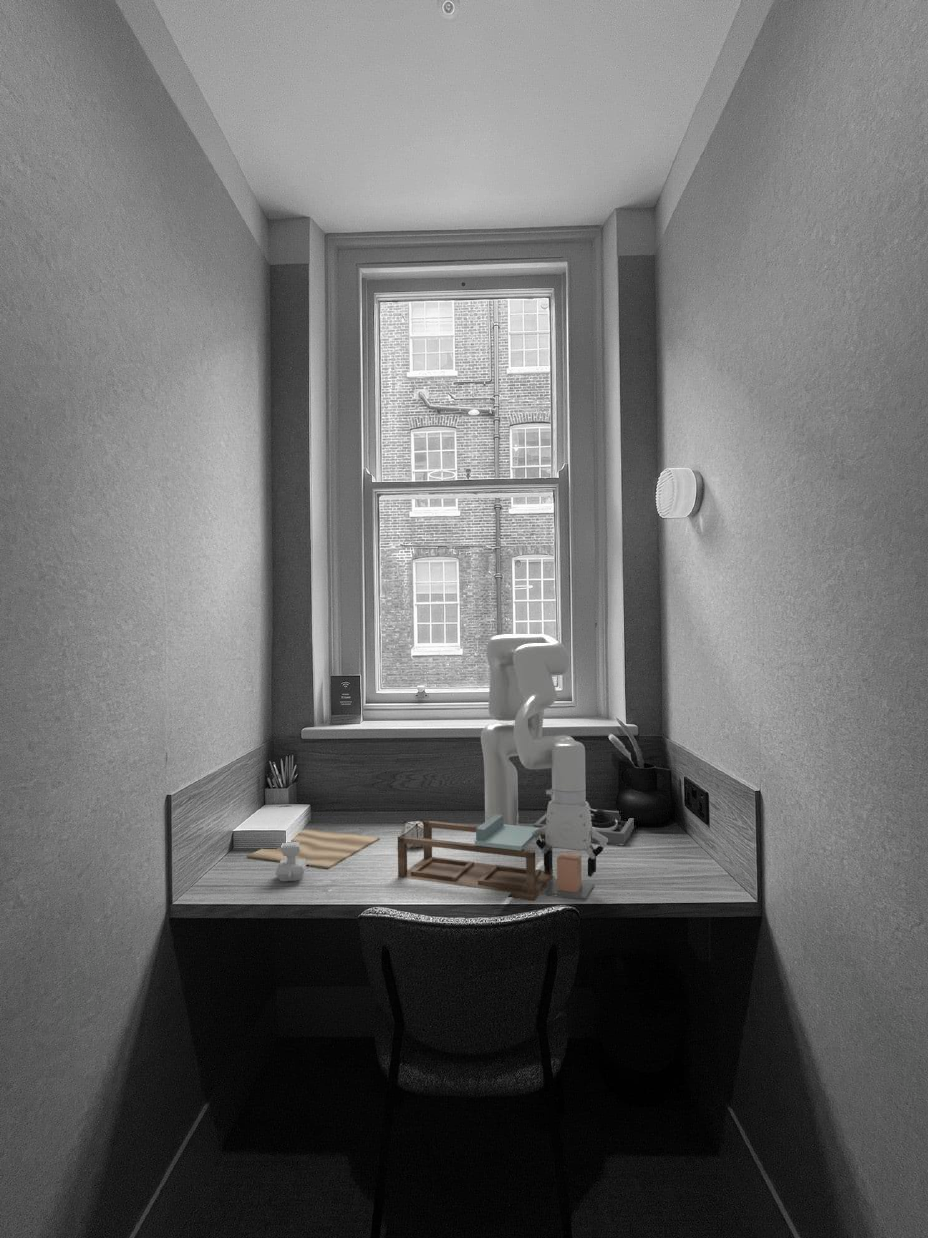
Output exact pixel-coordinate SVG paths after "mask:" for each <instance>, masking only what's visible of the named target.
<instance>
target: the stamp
mask: <svg viewBox="0 0 928 1238" xmlns="http://www.w3.org/2000/svg"><path fill="white" fill-rule="evenodd" d="M299 852H300V842H287V843H282V845H281V853H283V856H287V859H286V860H281V861H280V862H278V865H277V868H276V869H275V875H276V877H277V878H278V879H279V880H280V882H296V881H297V880H298V881H301V879H302V877H303V875H304V873H305V871H306V869H307V866H306V865H307V861H306V859H296V855H298V853H299Z"/></svg>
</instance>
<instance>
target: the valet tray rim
mask: <svg viewBox="0 0 928 1238" xmlns="http://www.w3.org/2000/svg"><path fill="white" fill-rule="evenodd" d="M591 809H592V810H596V811H597V810H598V809H596V808H595V809H594V808H591ZM603 810H604V811H605V813H608V814H611V815H613V816H614V817H615V818H617V819H619V820H620V821H621V816H620V814H619V810H607V809H603ZM590 813H591V814H592V815H594V813H595V812H590ZM546 816H547V812H546V813H545V814H544V815H543V816H541V817H540V818H539V819H538V820H537V821H536V822H535V823H534V824H533V827H536V828H541V827H543V826H546ZM591 820H596V819H595V818H594V816H591ZM617 821H618V820H617ZM620 821H618V822H620ZM633 829H634V830H635V828H634V818H629V819H628V821H627V822H626V824H625V825H624V827H622V829H621V830H620V831H615V830H614V831H604V830H595V831H597V832H598V833H600V834H601V835H603V836H605V837H606V838H608V842H607V843H610V844H609V845H614V844H623V845H624V844H626V843H627V841H628V840H627V839H629V838H630V836H631V835H632V833H633V831H634V830H633ZM593 830H594V829H593ZM632 830H633V831H632ZM631 832H632V833H631ZM630 834H631V835H630ZM629 835H630V836H629ZM628 837H629V838H628ZM626 840H627V841H626ZM595 842H599V841H598V840H596V839H595V838H593V841H592V843H595ZM625 842H626V843H625ZM623 845H622V846H623ZM624 846H625V845H624Z"/></svg>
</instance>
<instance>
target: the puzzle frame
mask: <svg viewBox="0 0 928 1238" xmlns="http://www.w3.org/2000/svg"><path fill="white" fill-rule="evenodd" d="M422 823H423V835H424V838H417V837H408V836H401V835H399V837H398V836H397V837H398V838H397V877H398V878H405V879H412V880H418V881H419V880H420V881H425V882H432V883H433V882H434V883H441V884H447V885H455V886H461V887H468V888H477V889H484V890H490V891H492V890H493V891H497V892H498V891H499V892H505V893H510V894H508V895H507V898H510V897H513V898H512V899H517V898H520V899H519V900H524V899H525V900H526V901H531V900H532V902H534V901H535V900H536V899H535V898H538V896H539V895H540V894H541V892H542V891H543V890H544V889H545V887H546V886H547V885H548V884H549V882H551V880H552V879H551V878H553V877H554V872H553V871H554V869H553V863H554V862H553V859H554V858H552V868H551V870H550V871H546V866H544V865H543V866H544V867H543V868H544V869H543V870H540V869H536V850H529V849H523V850H522V851H518V850H510V849H501V848H492V847H483V846H475V843H469V842H460V841H450V840H443V839H435V838H433V829H442V830H451V831H460V832H469V833H470V832H471V833H476V828H478V827H479V826H480V825H474V824H465V823H455V822H445V821H435V820H425V821H422ZM540 836H541V839H542V840H543V841H544V842H545V833H543V834H540ZM545 843H546V842H545ZM407 844H414V845H422V846H423V858H422V859H421V860H419V861H418V862H416V863H415V864H413V865H412V866H411V867H409V868H408V848H407ZM433 848H439V849H449V850H457V851H466V852H475V853H481V854H482V853H483V854H491V855H499V856H506V857H507V856H508V857H517V858H525V867H526V868H524V867H516V866H508V865H502V864H491V863H490V864H489V863H481V862H474V861H468V860H460V859H453V858H446V857H445V858H444V857H438V856H437V857H435V856H433ZM550 849H551V850H552V851H553V847H551V848H550ZM547 883H548V884H547ZM543 888H544V889H543ZM539 893H540V894H539Z"/></svg>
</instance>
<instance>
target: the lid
mask: <svg viewBox="0 0 928 1238" xmlns="http://www.w3.org/2000/svg"><path fill="white" fill-rule="evenodd" d="M478 826H479V827H478V828H476V832H475V840H474V844H475V846H483V847H492V848H501V849H510V850H518V851H522V850H525V848H526V846H528V845H529V844H530V843H531V842H532V841H533V840H534V837H533V835H532V832H533V831H534V830H537V829H539V828H536V827H534V826H525V825H524V826H523V825H518V826H516V825H506V824H503V815H497V814H495V815H494V816H493V817H491V818H490V819H489V820H487V821H486V822H485V821H484V822H483V823H482V824H480V825H478Z"/></svg>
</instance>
